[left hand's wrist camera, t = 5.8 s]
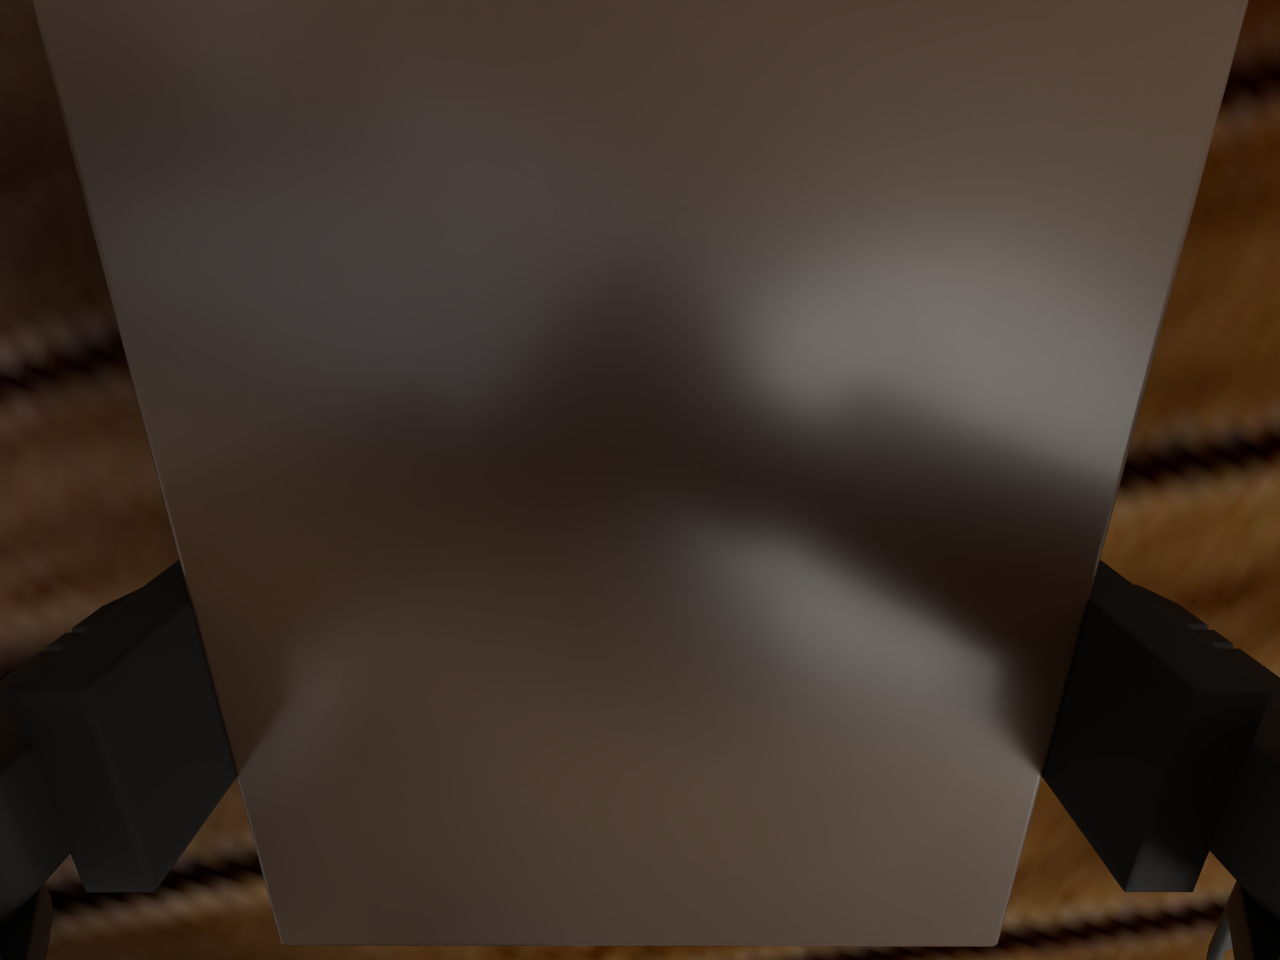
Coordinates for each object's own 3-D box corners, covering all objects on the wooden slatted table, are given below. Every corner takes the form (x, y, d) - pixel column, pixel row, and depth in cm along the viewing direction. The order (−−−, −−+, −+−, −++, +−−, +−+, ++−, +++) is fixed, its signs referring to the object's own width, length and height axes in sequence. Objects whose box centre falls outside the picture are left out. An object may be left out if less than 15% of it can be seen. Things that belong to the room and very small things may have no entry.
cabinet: (359, -202, 13) (-280, -1146, 4) (921, -201, 13) (1563, -1153, 4) (449, 603, 19) (279, 948, 10) (830, 603, 19) (999, 949, 10)
